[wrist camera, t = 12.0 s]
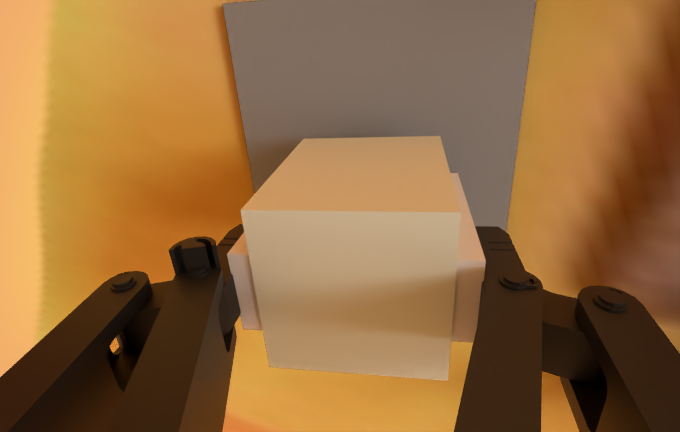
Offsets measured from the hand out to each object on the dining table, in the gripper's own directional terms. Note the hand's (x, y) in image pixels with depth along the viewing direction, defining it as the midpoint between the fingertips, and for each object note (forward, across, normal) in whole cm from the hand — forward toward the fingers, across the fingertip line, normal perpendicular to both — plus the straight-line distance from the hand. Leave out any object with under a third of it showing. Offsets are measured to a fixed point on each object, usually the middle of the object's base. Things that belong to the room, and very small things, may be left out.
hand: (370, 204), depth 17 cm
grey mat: (+2, 0, 0) cm, 2 cm away
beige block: (0, 0, 0) cm, 0 cm away
